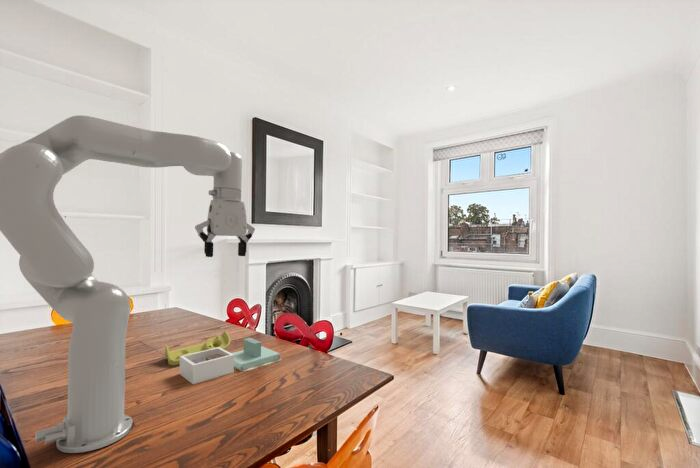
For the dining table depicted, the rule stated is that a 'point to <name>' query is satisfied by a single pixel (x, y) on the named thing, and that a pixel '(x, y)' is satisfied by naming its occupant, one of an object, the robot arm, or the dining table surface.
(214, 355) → the walnut block
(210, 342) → the plastic component
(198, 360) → the steel block
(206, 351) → the tub
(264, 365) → the board
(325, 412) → the dining table surface
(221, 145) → the robot arm
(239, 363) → the lid
